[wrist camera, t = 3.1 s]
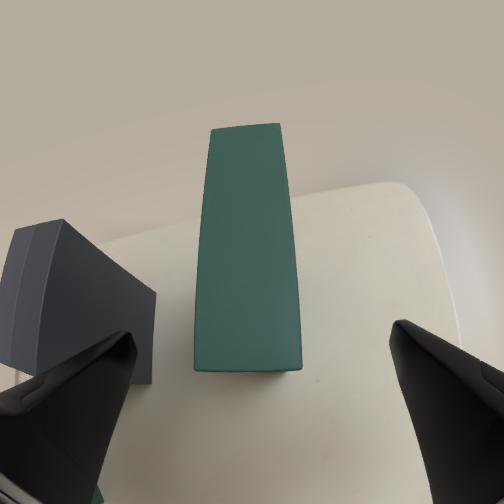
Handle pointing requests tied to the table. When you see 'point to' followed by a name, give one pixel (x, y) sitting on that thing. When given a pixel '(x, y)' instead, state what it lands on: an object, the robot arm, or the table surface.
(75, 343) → the charcoal book
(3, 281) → the charcoal book
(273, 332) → the green book
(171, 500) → the table surface
